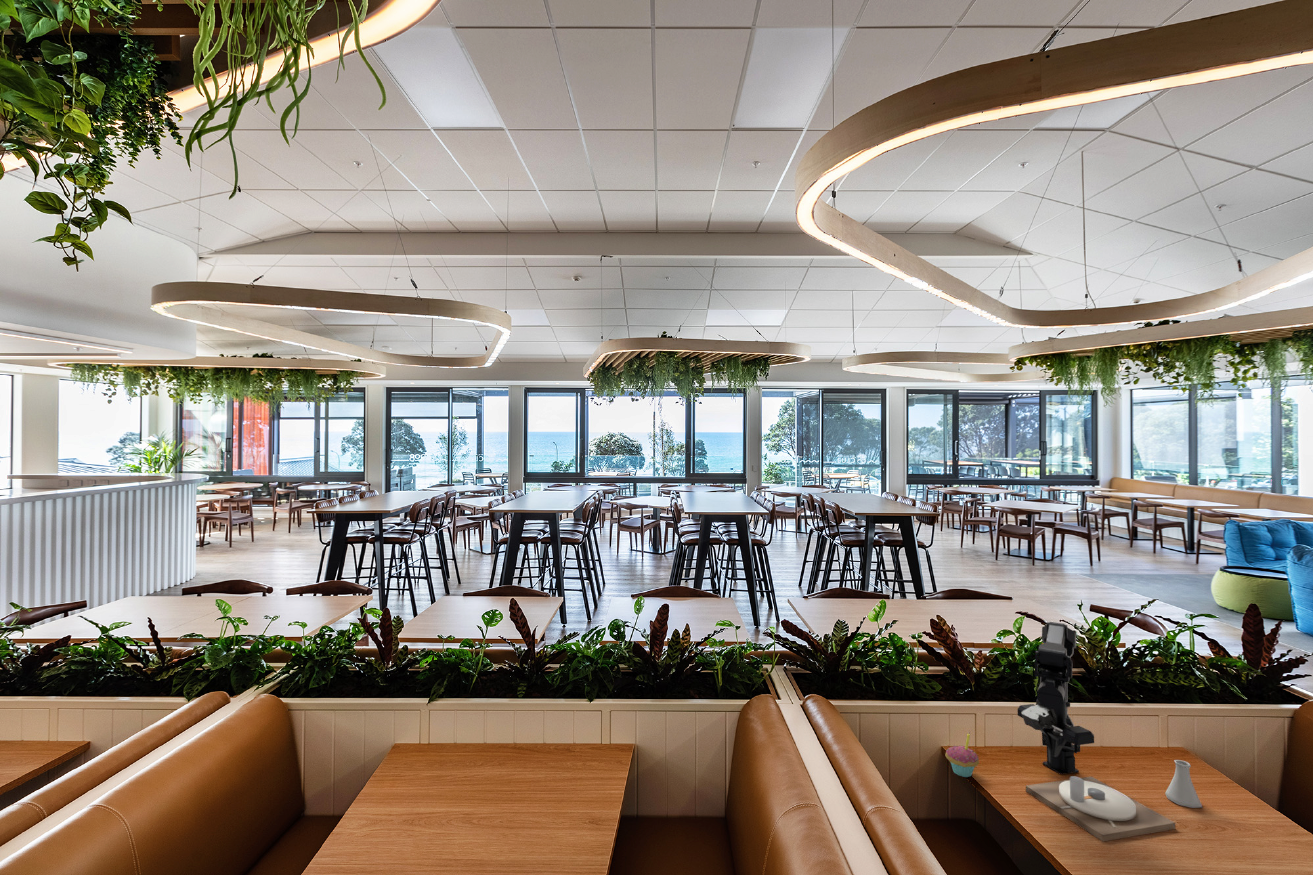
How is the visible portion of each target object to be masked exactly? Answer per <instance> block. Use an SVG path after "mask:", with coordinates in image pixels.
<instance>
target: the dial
mask: <svg viewBox="0 0 1313 875" xmlns="http://www.w3.org/2000/svg"><path fill="white" fill-rule="evenodd" d="M1081 778H1082V777H1079V776H1075V775H1074V776H1073V775H1072V776H1069V779H1070V780H1069V779H1067V780H1068V781H1064V782H1062V783H1061V784H1060V785H1059V795H1060V797H1061V798H1062V799H1063V800H1064V801H1065V802H1066V803H1067V804H1068V805H1070V806H1071V807H1073V808H1075V809H1077V810H1079V811H1081V812H1083V813H1086V814H1088V815H1091V816H1094V817H1098V818H1102V819H1106V820H1113V821H1127V820H1131V819H1133V818H1135V816H1136V805H1135V803H1134V802H1133V801H1132V800H1131V799H1132V798H1131V797H1130V796H1128V797H1127V795H1126V794H1124V793H1122V792H1121V791H1118V790H1117V789H1115V788H1113V787H1112V788H1113V789H1112V788H1110V787H1111V786H1110V787H1107V786H1104V785H1101V784H1098V783H1094V782H1089V781H1084V780H1083V779H1081ZM1129 797H1130V798H1131V799H1130V798H1129Z"/></svg>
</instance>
